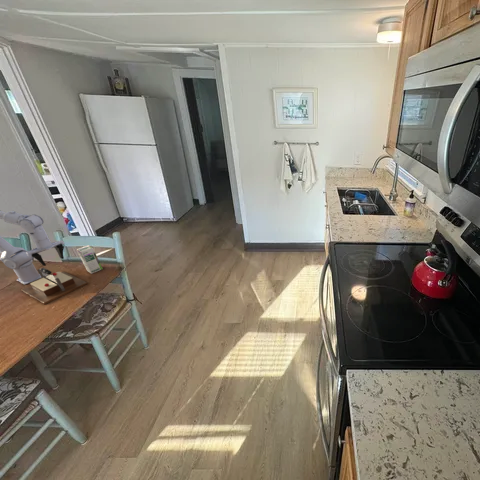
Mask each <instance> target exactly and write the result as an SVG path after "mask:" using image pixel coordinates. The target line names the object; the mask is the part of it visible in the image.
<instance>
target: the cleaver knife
mask: <svg viewBox="0 0 480 480" xmlns="http://www.w3.org/2000/svg"><path fill="white" fill-rule="evenodd" d="M39 270H40V271H41V273H42V275H43V276H44V277H46V279H47V278H48V279H50V280H51V281H53V282H55V283H57V282H56V280H55V276H54V275H52V274H53V273H52V271H51V270H50V269H47V268H45V267H42V268H39Z"/></svg>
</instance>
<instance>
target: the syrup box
mask: <svg viewBox="0 0 480 480" xmlns="http://www.w3.org/2000/svg"><path fill="white" fill-rule="evenodd" d="M76 252H77V254H78V256H79V258H80V260H81V262H82V263H83V265H84V268H85V270H86V271H87V272H88V273H90V274H91V275H93V274H95V273H97V272H99V271H102V270H103V267H102V264H101V262H100V260H99V258H98V255H97V254H96V251H95V249H94V248H93V246H91V245H89V244H88V245H85V246H83V247H79V248H77V249H76Z"/></svg>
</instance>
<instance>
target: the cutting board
mask: <svg viewBox="0 0 480 480" xmlns="http://www.w3.org/2000/svg"><path fill="white" fill-rule="evenodd" d="M39 269H40V268H39ZM39 269H36V270H37V272H38V273H39V274H40V276H41V277H42V278H45V279H47V278H46V277H44V276H43V275H42V273H41V271H40V270H39ZM60 272H61V273H63V274H66V275H68V276H70V277H72V278H73V280H74V282H75V283H74V284H72V285H70V286H68V287H65V288H64V287H63V285H62V283H61V281H60V280H59V278H55V280H56V282H57V284H58V285H59V289H60V290H59V291H57V292H55V293H52V294H50V295H48V296H45V295H44V294H42V293H40V292H38V291H36V290H35V289H33V288H32V286H31V285H28V286H26V287H23V288H21V289H20V291H21V292H22V293H24V294H26V295H28V296H29V297H31V298H33V299H35V301H36V300H37V301H38V302H40V303H41V304H43V305H47V304H48V303H51V302H53V301H55V300H57V299H59V298H62V297H63V296H65V295H68V294H70V293H71V292H74V291H76V290H79V289H80V288H82V287H84V286H86V285H88V284H89V283H88V282H87V281H85V280H83V279H82V278H81V279H80V278H79V277H77V276H75V275H73V274H70V273H68V272H66V271H64V270H63V271H60ZM42 278H41V279H42ZM47 280H48V279H47Z"/></svg>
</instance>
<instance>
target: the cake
mask: <svg viewBox="0 0 480 480" xmlns="http://www.w3.org/2000/svg"><path fill="white" fill-rule="evenodd" d="M61 272H62V271H56V272H53V273H51V274H52V275H54V276H55V278H59V280H60V281H61V283H62V285H63V287H64V288H65V287H68V286H70V285H72V284H74V283H75V282H74V280H73V278H72V277H70V276H68V275H66V274H63V273H61ZM47 279H48V278H46V279H45V278H40V279H37V280H35V281H33V282H30V283H29V284H30V285H31V286H32V288H33V289H35V290H36V291H38V292H40V293H42V294H44V295H45V296H48V295H50V294H52V293H55V292H57V291H59V290H60V289H59V285H58V284H57V283H55V282H53V281H51V280H50V279H48V280H47ZM30 285H29V286H30Z"/></svg>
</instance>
